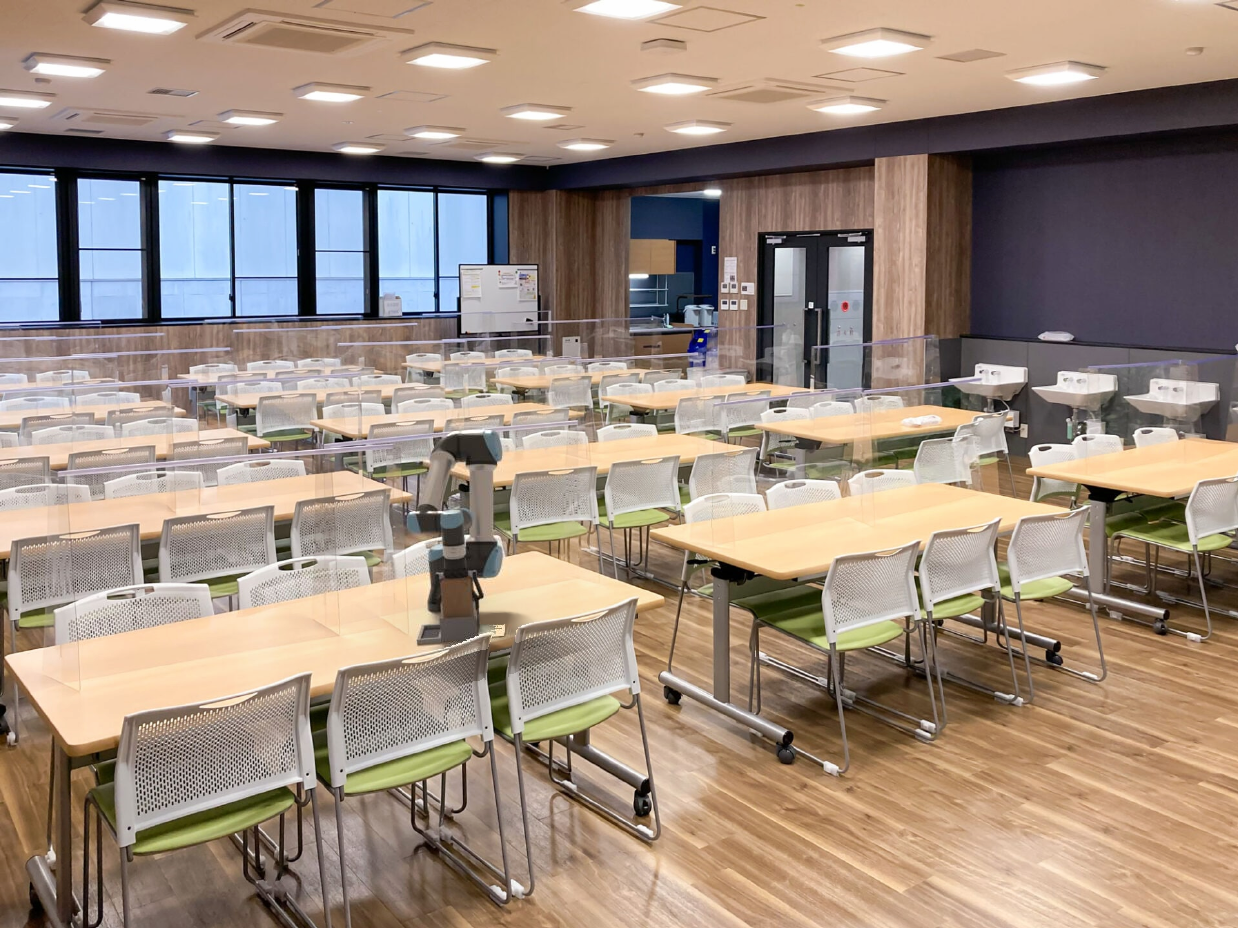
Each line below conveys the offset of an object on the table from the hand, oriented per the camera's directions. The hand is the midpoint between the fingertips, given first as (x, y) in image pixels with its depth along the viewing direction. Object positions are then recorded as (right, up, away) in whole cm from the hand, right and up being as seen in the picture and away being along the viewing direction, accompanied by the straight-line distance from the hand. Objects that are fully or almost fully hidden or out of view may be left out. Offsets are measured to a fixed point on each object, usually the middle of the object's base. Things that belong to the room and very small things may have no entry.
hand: (459, 619), depth 396 cm
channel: (0, -5, +1) cm, 5 cm away
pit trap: (-10, -5, 0) cm, 11 cm away
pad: (+11, -4, +2) cm, 12 cm away
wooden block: (0, -5, +2) cm, 5 cm away
